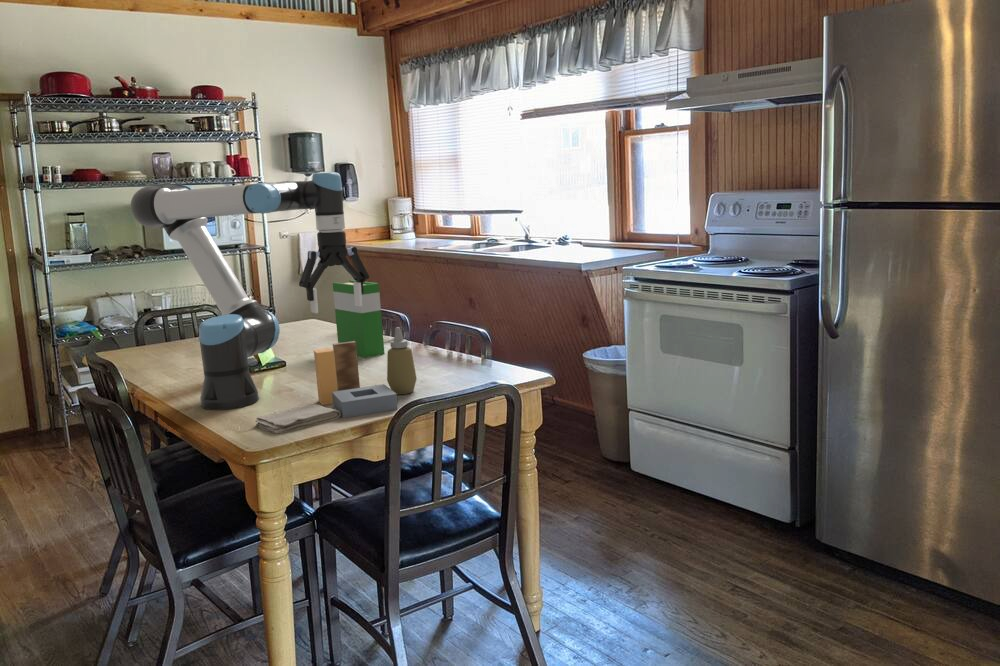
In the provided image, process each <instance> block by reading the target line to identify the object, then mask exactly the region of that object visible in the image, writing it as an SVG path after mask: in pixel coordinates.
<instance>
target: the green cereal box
mask: <svg viewBox="0 0 1000 666" xmlns="http://www.w3.org/2000/svg"><path fill="white" fill-rule="evenodd" d="M353 282H357V281H356V280H355V279H349V280H348V282H332V291H333V293H332V294H333V302H334V312H335V313H334V314H335V323H336V324H335V325H336V331H337V332H336V333H337V334H336V335H337V343H343V342H350V341H355V342H356V349H357V357H360V358H363V359H364V358H365V359H367V357H368V358H371V357H376V356H383V355H385V342H384V332H383V331H384V330H383V329H384V328H383V320H382V318H383V317H382V306H381V296H380V295H381V292H380V284H379V282H373V281H372V282H371V281H370V282H369V281H365V282H363V288H364V292H363V293H362V306H355V299H354V285H353Z"/></svg>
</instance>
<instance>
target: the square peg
mask: <svg viewBox="0 0 1000 666" xmlns="http://www.w3.org/2000/svg"><path fill="white" fill-rule="evenodd" d="M313 357H314V366H315V375H316V377H315V378H316V386H317V387H316V388H317V397H318V402H319V403H320V404H321V406H324V405H330V404H333V398H332V392H335V391H338V388H337V377H336V366H335V356H334V350H333V348H330V347H329V348H328V347H327V348H320V349H314V350H313Z"/></svg>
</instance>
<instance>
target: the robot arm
mask: <svg viewBox="0 0 1000 666" xmlns="http://www.w3.org/2000/svg"><path fill="white" fill-rule="evenodd" d="M311 176H312V177H311V180H308V181H307V180H304V181H303V180H302V181H301V180H299V181H296V180H295V181H294V180H292V181H291V180H289V181H288V180H286V181H277V182H264V181H263V182H257V183H250V184H238V185H236V184H235V185H226V186H214V187H204V188H203V187H202V188H195V187H193V186H190V185H187V184H180V183H173V184H170V185H167V184H165V185H148V186H145V187H141V188H140V189H139V190H137V191H136V192H135V193H134V194H133V196H132V198H131V201H130V212H131V215H132V217H133V219H135V221H136V222H137V223H138V224H140V225H141V226H144V227H146V228H149V229H164V231H165V233H166V234H167V236H168V237H169V239H170V240H172V241H177V242H178V243H179V245H180V246H181V248H182V250H183V251H184V253H185V256H187V259H189V261H190V263H191V265H192V266H193V268H194V270H195V271H196V273H197V275H198V276H199V278H200V280H201V281H202V283H203V284H204V286H205V288H206V290H207V291H208V292H209V293H208V294H209V295H210V296H211V298H212V300H213V301H214V303H215V304H216V306H217V307H218V309H219V311H220V313H221V315H220V314H219V315H218V316H212V317H210V318H208V319H206V320H204V321H202V322H201V323H200V324H199V327H198V333H199V334H198V341H199V345H200V353H201V359H202V367H203V375H204V376H203V377H204V379H203V383H202V389H201V393H200V400H199V401H200V407H201V408H202V409H206V410H215V411H216V410H217V411H218V410H231V409H238V408H243V407H247V406H249V405H253V404H254V403H257V402H258V401H259V399H260V398H259V391H258V389H257V386H256V384H255V382H254V379H253V377H252V375H251V373H250V369H249V358H250V357H253V356H256V355H259V354H263V353H265V352H266V351H269V350H270V349H271V348H273V347H274V346H275V345H276V344H277V342H278V340H279V336H280V333H281V331H280V330H281V329H280V323H279V321H278V319H277V317H276V316H275V314H273V312H270V311H267V310H266V309H263V308H262V307H261V306H260V303H259V301H257V300H255V299H251V298H250V297H249V296H248V294H247V293H246V291H245V290H244V289H245V288H243V285H242V284H241V283H240V281H239V280H238V278H237V276H236V274H235V273H234V271H233V269H232V268H231V266H230V264H229V262H228V261H227V260H226V258H225V256H224V253H222V251H221V249H220V248H219V246H218V245H217V243H216V242H215V239H214V238H213V236H212V235H211V233H210V232H209V230H208V228H207V224H208V221H209V219H208V218H211V217H212V218H215V217H216V218H217V217H227V216H241V215H250V214H269V213H275V212H284V211H286V212H287V211H298V210H314V213H315V215H314V216H315V226H316V228H315V230H317V231H318V232H317V233H316V237H317V238H316V240H317V246H318V250H317V251H314V250H308V251H307V260H306V262H305V265H304V269H303V271H302V274H301V277H300V280H299V283H298V286H299V287H300V288H304V289H306V290H305V291H306V299H307V301H308V302H309V303H310V304H309V305H310V306H309V307H310V313H313V314H318V313H319V305H318V303H319V301H318V292H317V288H314V287H315V285H316V284H317V283H318V281H319V280H320V278H321V276H322V275H323V273H324V271H325V270H326V269H327V268H328V267H334V266H342V267H343V268H344V269H345V271H347V272H348V274H349V275H350V276H351V277H352V278H353V280H355V281H357V282H353V285H354V299H355V306H362V293H363V292H364V288H363V282H366V281H367V280H369V279H370V274H369V273H368V271H367V269H366V268H365V265H364V264H363V262H362V260H361V258H360V256H359V254H358V249H357V247H356V246H349V247H348V248H347V246H346V244H347V238H346V237H347V236H346V235H347V234H346V232H345V229H346V224H345V223H346V222H345V212H344V198H343V190H344V188H343V185H342V176H341V175H340V173H338V172H335V171H334V172H314V173H313V174H312V175H311ZM347 255H348V256H349V258H350V260H351V261H352V263H353V265H354V266H353V265H352V264H351V263H350V261H349V260H348V259H347V258H346V257H347ZM318 258H319V261H318V262H317V266H316V267H315V264H316V261H317V259H318ZM314 267H315V269H314Z"/></svg>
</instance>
